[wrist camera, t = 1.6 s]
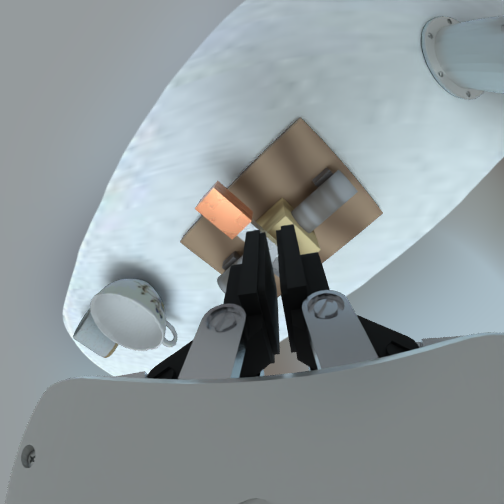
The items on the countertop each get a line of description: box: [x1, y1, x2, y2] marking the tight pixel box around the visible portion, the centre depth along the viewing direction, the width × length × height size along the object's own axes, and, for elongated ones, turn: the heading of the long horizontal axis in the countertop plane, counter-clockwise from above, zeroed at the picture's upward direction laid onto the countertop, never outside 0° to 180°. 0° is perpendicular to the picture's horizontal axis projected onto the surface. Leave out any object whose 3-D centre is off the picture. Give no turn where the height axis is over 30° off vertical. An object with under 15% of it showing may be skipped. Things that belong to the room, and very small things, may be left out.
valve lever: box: [195, 181, 279, 277], centre depth 26 cm, size 12×3×2 cm, turn 47°
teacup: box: [90, 279, 177, 351], centre depth 40 cm, size 15×12×8 cm
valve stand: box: [180, 118, 383, 297], centre depth 32 cm, size 22×16×8 cm
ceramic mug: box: [73, 309, 118, 358], centre depth 44 cm, size 11×8×8 cm
